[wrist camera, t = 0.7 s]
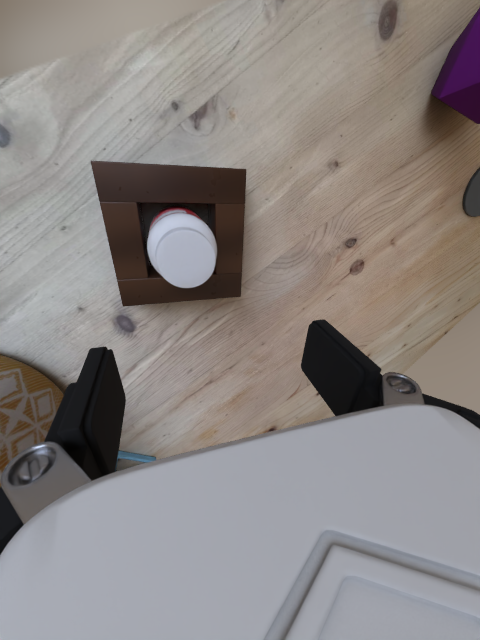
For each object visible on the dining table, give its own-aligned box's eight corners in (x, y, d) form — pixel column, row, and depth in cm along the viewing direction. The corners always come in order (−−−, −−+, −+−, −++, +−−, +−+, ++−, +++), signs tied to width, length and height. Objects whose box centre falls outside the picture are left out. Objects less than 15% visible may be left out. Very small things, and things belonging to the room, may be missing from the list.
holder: (101, 162, 24) (90, 160, 20) (234, 169, 27) (246, 169, 23) (127, 290, 30) (122, 306, 27) (231, 283, 34) (240, 296, 30)
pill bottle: (209, 253, 31) (230, 286, 22) (160, 265, 30) (161, 305, 21) (197, 198, 27) (216, 211, 18) (141, 210, 26) (132, 229, 17)
